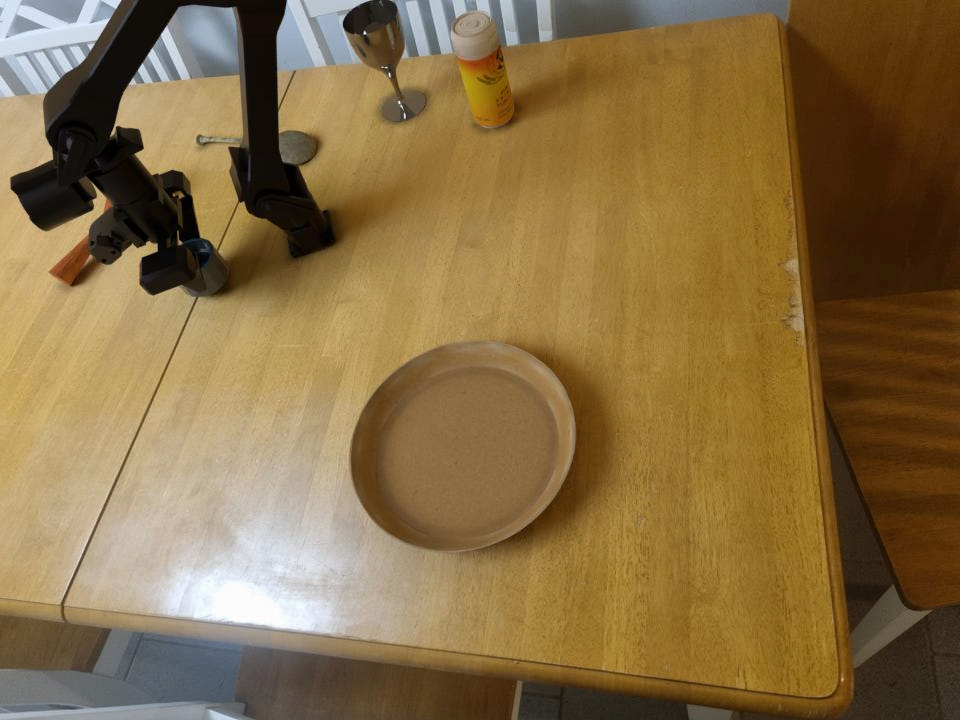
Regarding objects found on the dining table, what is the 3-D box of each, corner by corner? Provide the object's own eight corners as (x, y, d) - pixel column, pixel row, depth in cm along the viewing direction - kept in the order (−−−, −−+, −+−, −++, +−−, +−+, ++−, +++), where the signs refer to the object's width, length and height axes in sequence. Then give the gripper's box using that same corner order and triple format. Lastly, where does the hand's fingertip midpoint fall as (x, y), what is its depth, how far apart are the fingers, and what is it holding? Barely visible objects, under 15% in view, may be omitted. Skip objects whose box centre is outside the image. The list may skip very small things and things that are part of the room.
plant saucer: (333, 550, 75) (320, 539, 73) (387, 352, 88) (377, 337, 85) (566, 575, 69) (562, 564, 66) (589, 358, 81) (586, 341, 78)
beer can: (511, 130, 104) (489, 35, 92) (470, 131, 106) (443, 39, 93) (518, 101, 107) (498, 6, 95) (479, 103, 109) (453, 10, 96)
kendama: (32, 262, 105) (120, 160, 112) (67, 287, 110) (150, 187, 116) (50, 269, 102) (140, 163, 108) (85, 294, 106) (169, 191, 112)
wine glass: (378, 95, 115) (342, 7, 103) (427, 83, 114) (397, -7, 102) (378, 128, 111) (341, 40, 98) (429, 116, 110) (398, 25, 97)
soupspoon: (305, 174, 110) (325, 145, 113) (297, 156, 107) (318, 127, 110) (190, 156, 117) (212, 130, 120) (180, 139, 114) (202, 113, 118)
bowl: (183, 270, 102) (164, 248, 98) (228, 253, 102) (212, 231, 98) (185, 305, 98) (166, 285, 94) (232, 288, 98) (214, 267, 94)
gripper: (71, 162, 91) (145, 244, 104) (62, 268, 81) (146, 345, 94) (154, 131, 91) (218, 217, 104) (156, 232, 80) (227, 315, 93)
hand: (201, 271), depth 99 cm, fingers closed on bowl, 7 cm apart
